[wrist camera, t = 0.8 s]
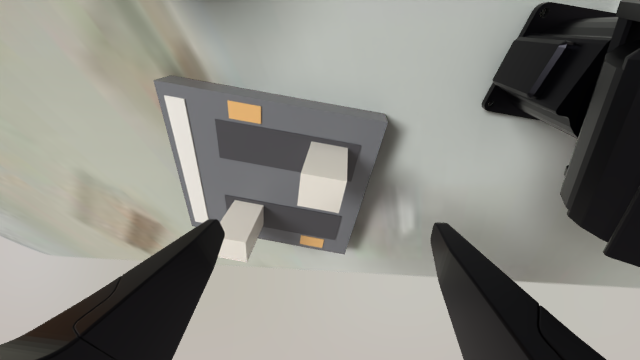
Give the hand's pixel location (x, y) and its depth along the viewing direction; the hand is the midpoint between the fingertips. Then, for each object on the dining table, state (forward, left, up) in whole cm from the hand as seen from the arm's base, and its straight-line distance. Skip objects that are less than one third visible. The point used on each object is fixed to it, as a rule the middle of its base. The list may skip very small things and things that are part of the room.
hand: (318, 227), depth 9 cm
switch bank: (+5, +7, -12) cm, 15 cm away
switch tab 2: (0, +3, -10) cm, 11 cm away
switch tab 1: (+7, +11, -10) cm, 16 cm away
